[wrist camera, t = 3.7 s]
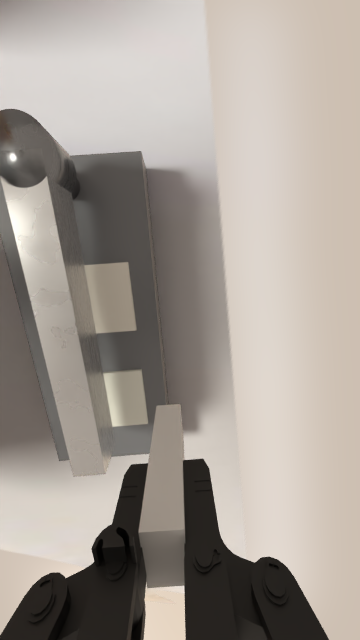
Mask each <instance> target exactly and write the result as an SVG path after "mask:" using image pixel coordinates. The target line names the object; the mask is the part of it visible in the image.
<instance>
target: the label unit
mask: <svg viewBox="0 0 360 640" xmlns="http://www.w3.org/2000/svg"><path fill="white" fill-rule="evenodd" d="M70 157H71V159H72V160H73V163H74V165H75V169H76V175H77V178H76V185H75V188H74V190H73V192H72V198H73V204H74V210H75V216H76V221H77V227H78V233H79V238H80V244H81V250H82V255H83V261H84V267H85V273H86V278H87V284H88V290H89V295H90V301H91V307H92V313H93V318H94V324H95V330H96V335H97V341H98V347H99V352H100V358H101V364H102V370H103V375H104V381H105V387H106V392H107V398H108V404H109V409H110V415H111V421H112V427H113V432H114V438H115V446H114V449H113V453H112V456H111V457H113V456H125V455H137V454H149V453H150V448H151V441H152V434H153V427H154V420H155V413H156V406H158V405H168V395H167V384H166V374H165V363H164V353H163V342H162V332H161V321H160V311H159V300H158V290H157V280H156V269H155V259H154V248H153V238H152V227H151V217H150V206H149V196H148V185H147V175H146V167H145V163H144V160H143V156H142V153H141V151H136V152H121V153H106V154H91V155H76V156H70ZM0 235H1V239H2V243H3V247H4V250H5V254H6V258H7V262H8V266H9V270H10V274H11V277H12V281H13V285H14V289H15V293H16V297H17V300H18V304H19V308H20V312H21V316H22V320H23V323H24V327H25V331H26V335H27V339H28V343H29V346H30V350H31V354H32V358H33V362H34V366H35V369H36V373H37V377H38V381H39V385H40V389H41V392H42V396H43V400H44V404H45V408H46V412H47V415H48V419H49V423H50V427H51V431H52V435H53V439H54V442H55V446H56V450H57V454H58V458H59V461H65V460H70V459H69V455H68V451H67V447H66V443H65V439H64V435H63V431H62V427H61V423H60V419H59V415H58V410H57V406H56V402H55V398H54V394H53V390H52V386H51V382H50V378H49V374H48V370H47V366H46V362H45V358H44V353H43V349H42V345H41V341H40V337H39V333H38V329H37V325H36V321H35V317H34V313H33V309H32V305H31V300H30V296H29V292H28V288H27V284H26V280H25V276H24V272H23V268H22V264H21V260H20V256H19V252H18V247H17V243H16V239H15V235H14V231H13V227H12V223H11V219H10V215H9V211H8V207H7V203H6V199H5V195H4V190H3V186H2V182H1V179H0Z"/></svg>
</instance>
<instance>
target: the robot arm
mask: <svg viewBox="0 0 360 640" xmlns="http://www.w3.org/2000/svg"><path fill="white" fill-rule="evenodd" d="M92 553H93V557H94V561H95V562H94V563H93V564H92V565H90V566H89V567H87V568H85V569H84V570H82V571H80V572H78V573H76V574H74V575H72V576H70V577H68V578H66V579H65V577H64V576H63V575H62V574H60V573H50V574H48V575H46V576H44V577H42V578H41V579H40V580H38V581H37V582H36V583H35V584H34V585H33V586H32V587H31V588H30V590H29V591H28V592H27V594H26V595H25V596H24V598H23V600H22V601H21V603H20V604H19V606H18V608H17V609H16V611H15V612H14V614H13V616H12V618H11V619H10V621H9V622H8V624H7V626H6V627H5V629H4V630H3V632H2V634H1V635H0V640H143V638H144V627H145V601H144V598H145V588H146V583H147V588H154V587H169V586H183V585H185V627H186V640H329V639H328V637H327V635H326V633H325V632H324V630H323V628H322V627H321V624H320V623H319V621H318V619H317V617H316V615H315V614H314V612H313V610H312V608H311V606H310V605H309V603H308V601H307V599H306V597H305V596H304V594H303V592H302V590H301V588H300V587H299V585H298V583H297V581H296V579H295V578H294V576H293V575H292V573H291V572H290V571H289V569H288V568H287V567H286V566H285V565H284V564H283V563H281V562H280V561H279V560H277V559H274V558H271V557H262V558H260V559H259V560H258V561H257V562H255V563H254V562H251V561H249V560H246V559H243V558H240V557H239V556H237V555H235V554H233V553H232V552H231V551H230V550H229V549H228V548H227V547H226V545H225V544H224V543H223V540H222V538H221V536H220V532H219V528H218V522H217V515H216V509H215V503H214V497H213V491H212V484H211V478H210V472H209V468H208V466H207V464H206V463H205V461H204V459H194V460H184V441H183V428H182V415H181V404H172V405H158V406H156V413H155V420H154V427H153V434H152V441H151V448H150V455H149V462H148V463H147V464H133V465H131V466H130V467H129V469H128V470H127V472H126V473H125V475H124V479H123V483H122V487H121V491H120V495H119V499H118V503H117V507H116V511H115V515H114V519H113V523H112V525H110V526H108V527H107V528H105V529H104V530H103V531H102V532H101V533H100V534H99V536H98V537H97V538H96V540H95V542H94V544H93V546H92Z"/></svg>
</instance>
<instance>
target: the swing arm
mask: <svg viewBox="0 0 360 640" xmlns="http://www.w3.org/2000/svg"><path fill="white" fill-rule="evenodd" d="M76 178H77V175H76V169H75V165H74V163H73V160H72V159H71V157H70V155H69V154H68V153H67V152H66V151H65V150H64V149H63V148H62V146H61V145H60V144H59V143H58V142H57V141H56V140H55V139H54V138H53V137H52V136H51V135H50V134H49V133H48V132H47V131H46V130H45V129H44V128H43V126H42V125H41V124H40V123H39V122H38V121H37V120H36V119H34V118H33V117H32V116H30V115H29V114H27V113H25V112H23V111H20V110H16V109H5V110H1V111H0V179H1V182H2V186H3V190H4V195H5V199H6V203H7V207H8V211H9V215H10V219H11V223H12V227H13V231H14V235H15V239H16V243H17V247H18V252H19V256H20V260H21V264H22V268H23V272H24V276H25V280H26V284H27V288H28V292H29V296H30V300H31V305H32V309H33V313H34V317H35V321H36V325H37V329H38V333H39V337H40V341H41V345H42V349H43V353H44V358H45V362H46V366H47V370H48V374H49V378H50V382H51V386H52V390H53V394H54V398H55V402H56V406H57V410H58V415H59V419H60V423H61V427H62V431H63V435H64V439H65V443H66V447H67V451H68V455H69V459H70V463H71V468H72V472H73V476H74V477H75V476H87V475H99V474H106V471H107V468H108V465H109V462H110V459H111V456H112V453H113V449H114V446H115V438H114V432H113V427H112V421H111V415H110V409H109V404H108V398H107V392H106V387H105V381H104V375H103V370H102V364H101V358H100V352H99V347H98V341H97V335H96V330H95V324H94V318H93V313H92V307H91V301H90V295H89V290H88V284H87V278H86V273H85V267H84V261H83V255H82V250H81V244H80V238H79V233H78V227H77V221H76V216H75V210H74V204H73V198H72V192H73V190H74V188H75V185H76Z"/></svg>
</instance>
